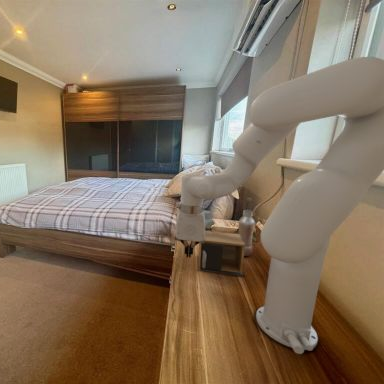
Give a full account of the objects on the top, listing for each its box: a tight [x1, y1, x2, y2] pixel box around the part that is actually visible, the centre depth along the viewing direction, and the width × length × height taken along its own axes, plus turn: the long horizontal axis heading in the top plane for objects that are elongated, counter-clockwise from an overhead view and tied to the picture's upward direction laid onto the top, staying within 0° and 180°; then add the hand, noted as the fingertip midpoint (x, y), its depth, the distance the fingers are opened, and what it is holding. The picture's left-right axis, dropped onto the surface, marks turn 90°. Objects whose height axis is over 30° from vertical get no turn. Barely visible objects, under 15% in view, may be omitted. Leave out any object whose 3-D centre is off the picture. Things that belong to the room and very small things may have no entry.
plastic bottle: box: [238, 209, 257, 257], centre depth 88 cm, size 6×7×20 cm
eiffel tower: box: [234, 192, 258, 243], centre depth 107 cm, size 11×11×25 cm
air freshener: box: [202, 209, 216, 230], centre depth 121 cm, size 11×8×10 cm
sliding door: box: [199, 243, 223, 270], centre depth 75 cm, size 5×7×10 cm, turn 74°
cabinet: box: [197, 230, 245, 277], centre depth 80 cm, size 11×15×12 cm
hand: (188, 255), depth 75 cm, fingers closed
